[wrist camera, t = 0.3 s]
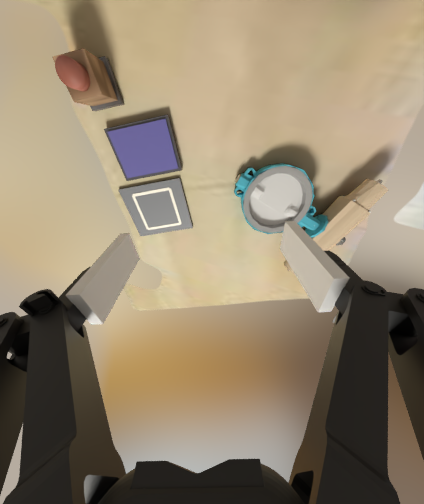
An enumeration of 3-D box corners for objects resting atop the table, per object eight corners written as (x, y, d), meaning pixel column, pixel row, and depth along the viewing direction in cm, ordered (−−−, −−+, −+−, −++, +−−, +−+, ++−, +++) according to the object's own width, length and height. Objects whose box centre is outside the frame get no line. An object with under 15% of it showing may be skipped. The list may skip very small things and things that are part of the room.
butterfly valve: (210, 221, 45) (296, 268, 51) (207, 232, 40) (304, 284, 45) (275, 107, 32) (382, 188, 38) (286, 98, 26) (410, 196, 32)
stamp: (76, 67, 27) (32, 45, 20) (107, 58, 26) (74, 33, 20) (95, 111, 30) (63, 105, 23) (124, 104, 29) (100, 96, 23)
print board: (119, 189, 38) (118, 189, 37) (179, 177, 36) (179, 178, 36) (141, 235, 44) (140, 236, 44) (192, 226, 43) (192, 228, 43)
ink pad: (107, 129, 31) (103, 129, 30) (168, 115, 30) (167, 114, 29) (129, 179, 36) (126, 181, 35) (182, 169, 35) (181, 170, 34)
